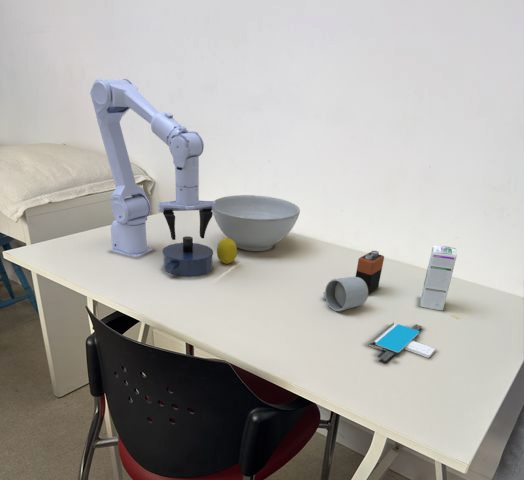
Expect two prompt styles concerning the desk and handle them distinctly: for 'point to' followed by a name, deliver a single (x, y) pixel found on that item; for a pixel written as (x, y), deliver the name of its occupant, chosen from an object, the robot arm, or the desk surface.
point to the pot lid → (187, 251)
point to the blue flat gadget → (399, 342)
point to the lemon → (226, 250)
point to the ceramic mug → (346, 293)
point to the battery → (370, 269)
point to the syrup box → (438, 277)
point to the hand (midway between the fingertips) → (187, 238)
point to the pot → (187, 267)
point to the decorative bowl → (255, 220)
